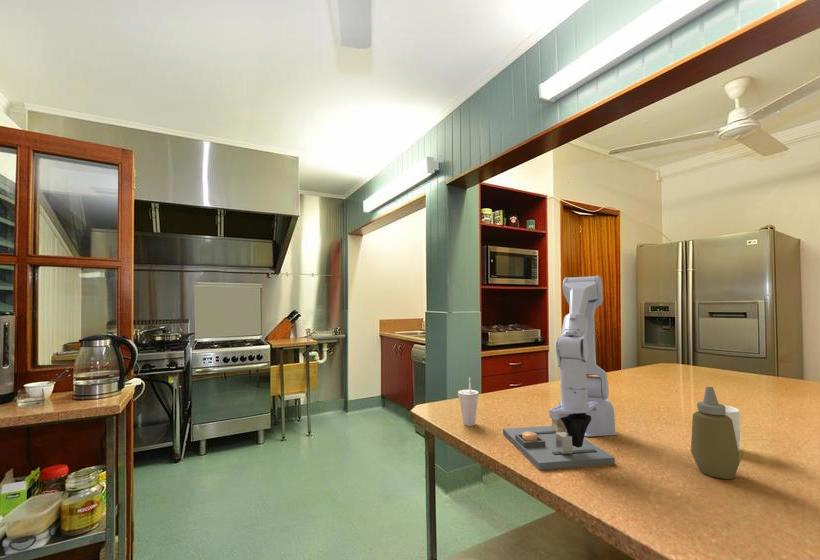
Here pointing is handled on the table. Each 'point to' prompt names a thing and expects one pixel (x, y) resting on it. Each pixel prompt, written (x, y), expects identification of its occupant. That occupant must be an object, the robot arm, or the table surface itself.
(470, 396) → the smoothie
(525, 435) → the orange button
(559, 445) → the metal slider
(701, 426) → the squeeze bottle
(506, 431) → the control board
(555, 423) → the birch slider
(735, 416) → the white cup
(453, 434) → the table surface
